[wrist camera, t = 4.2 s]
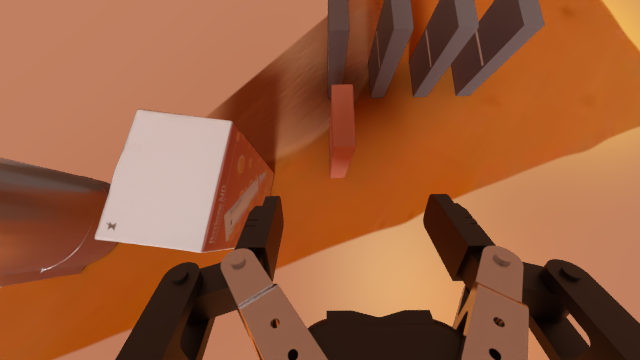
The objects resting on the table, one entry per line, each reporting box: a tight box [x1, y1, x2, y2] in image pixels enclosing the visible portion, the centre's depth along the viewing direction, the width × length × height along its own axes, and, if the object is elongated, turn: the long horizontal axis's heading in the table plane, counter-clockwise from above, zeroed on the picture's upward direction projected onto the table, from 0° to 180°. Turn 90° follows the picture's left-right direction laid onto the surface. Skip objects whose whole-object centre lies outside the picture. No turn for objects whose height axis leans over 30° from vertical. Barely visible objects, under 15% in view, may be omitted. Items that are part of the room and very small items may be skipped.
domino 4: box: [409, 0, 479, 97], centre depth 24 cm, size 2×5×10 cm, turn 1°
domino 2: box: [329, 84, 356, 178], centre depth 22 cm, size 2×5×10 cm, turn 1°
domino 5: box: [451, 0, 545, 96], centre depth 24 cm, size 2×5×10 cm, turn 1°
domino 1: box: [327, 0, 349, 99], centre depth 24 cm, size 2×5×10 cm, turn 1°
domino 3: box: [368, 0, 414, 98], centre depth 24 cm, size 2×5×10 cm, turn 1°
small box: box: [95, 109, 274, 253], centre depth 20 cm, size 8×6×13 cm
